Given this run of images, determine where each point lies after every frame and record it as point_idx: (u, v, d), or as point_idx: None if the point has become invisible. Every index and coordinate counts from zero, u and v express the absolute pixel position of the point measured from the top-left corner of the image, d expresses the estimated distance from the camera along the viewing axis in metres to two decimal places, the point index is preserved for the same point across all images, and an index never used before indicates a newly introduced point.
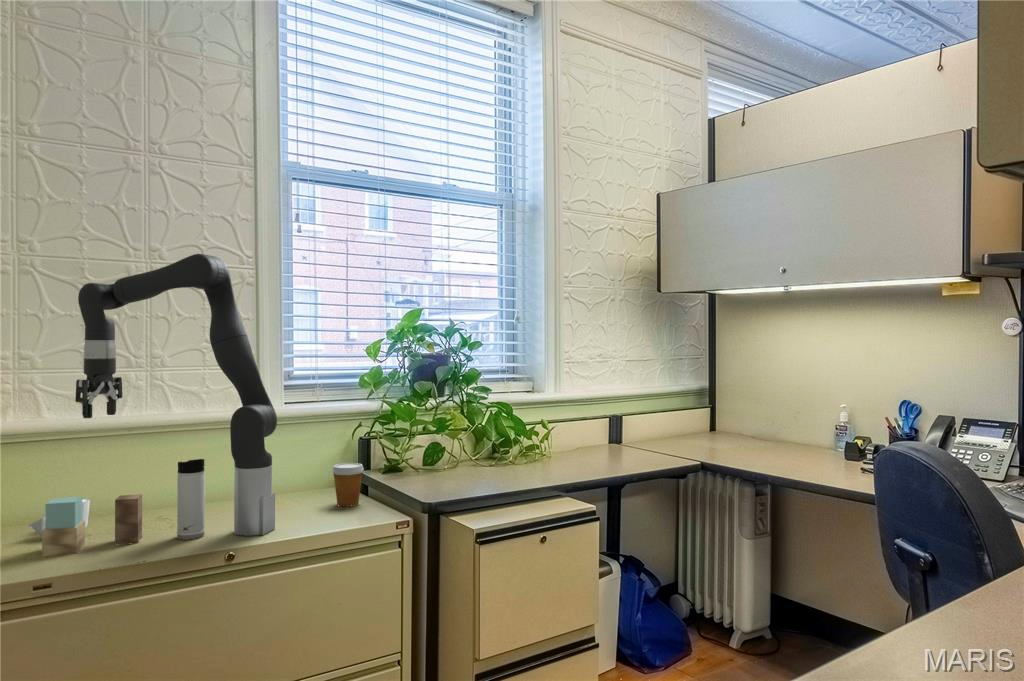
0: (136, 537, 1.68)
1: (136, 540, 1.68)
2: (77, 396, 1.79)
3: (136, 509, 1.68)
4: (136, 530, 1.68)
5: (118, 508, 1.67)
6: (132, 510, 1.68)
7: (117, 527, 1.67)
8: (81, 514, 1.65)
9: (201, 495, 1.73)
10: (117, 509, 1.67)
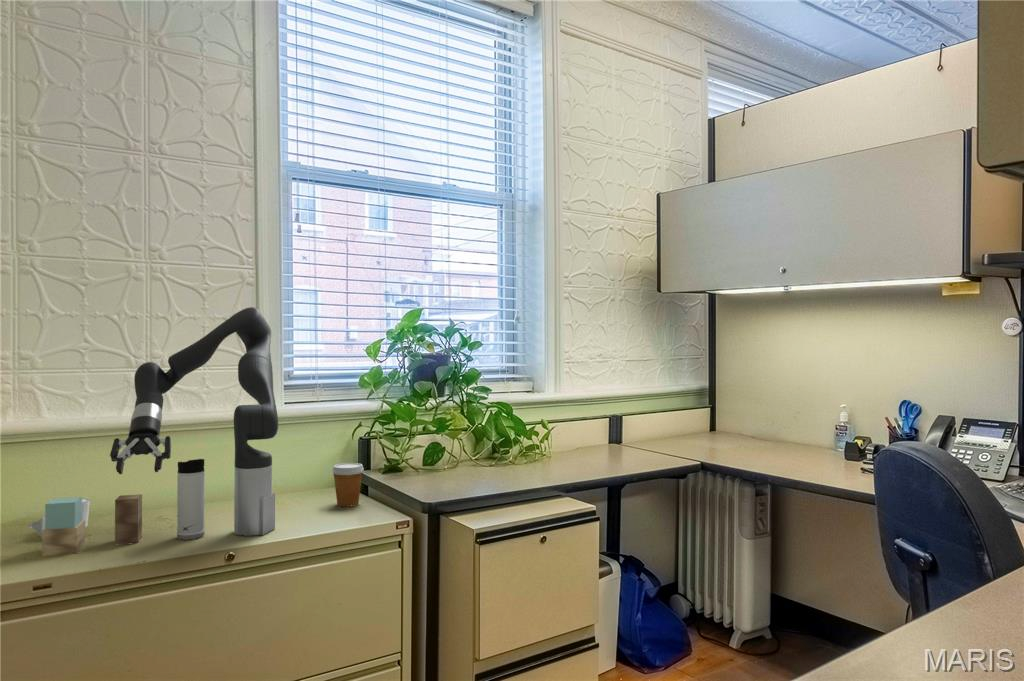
0: (136, 537, 1.68)
1: (136, 540, 1.68)
2: None
3: (136, 509, 1.68)
4: (136, 530, 1.68)
5: (118, 508, 1.67)
6: (132, 510, 1.68)
7: (117, 527, 1.67)
8: (81, 514, 1.65)
9: (201, 495, 1.73)
10: (117, 509, 1.67)
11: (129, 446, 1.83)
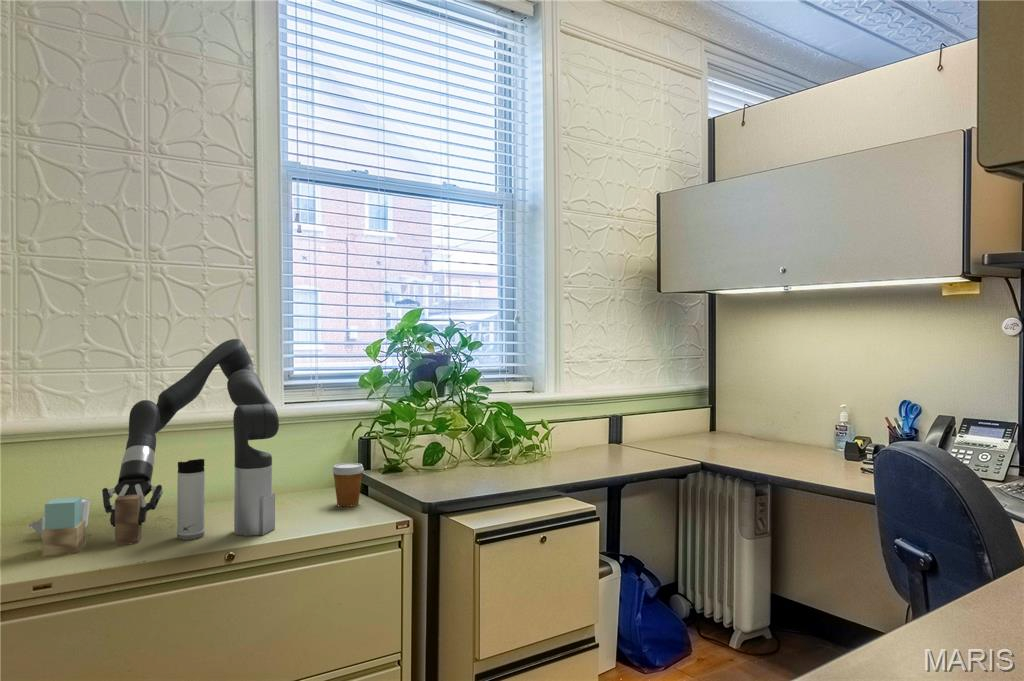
0: (136, 537, 1.68)
1: (136, 540, 1.68)
2: None
3: (136, 509, 1.68)
4: (136, 530, 1.68)
5: (118, 508, 1.67)
6: (132, 510, 1.68)
7: (117, 527, 1.67)
8: (80, 514, 1.65)
9: (201, 495, 1.73)
10: (117, 509, 1.67)
11: (121, 495, 1.71)
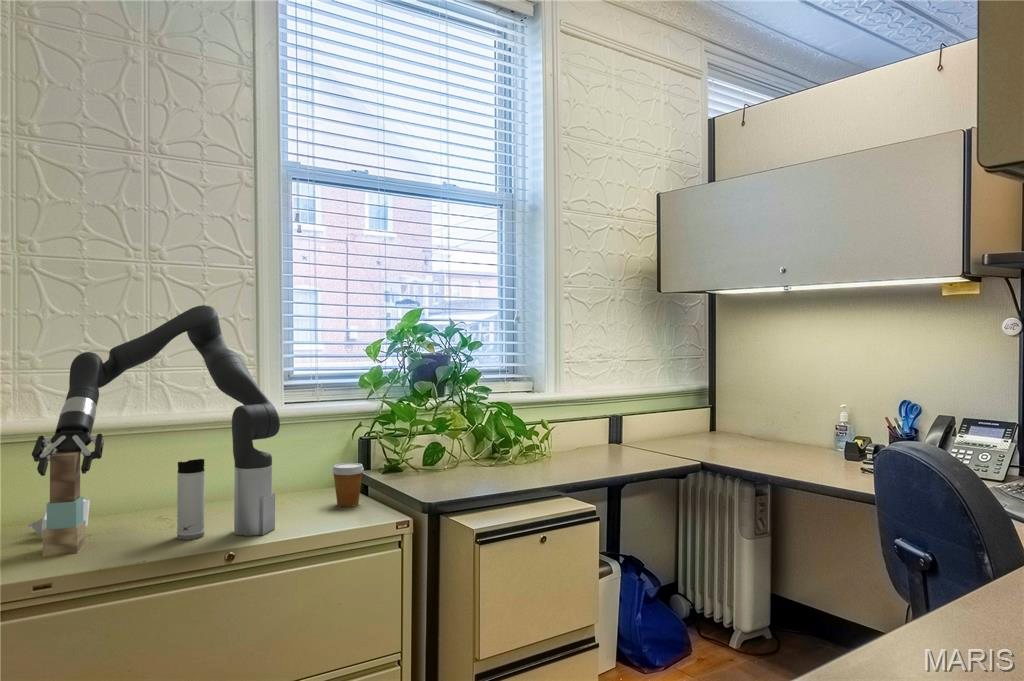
0: (72, 495, 1.61)
1: (72, 498, 1.61)
2: None
3: (73, 466, 1.61)
4: (72, 488, 1.61)
5: (54, 464, 1.59)
6: (68, 467, 1.60)
7: (52, 484, 1.59)
8: (82, 514, 1.65)
9: (201, 495, 1.73)
10: (52, 466, 1.59)
11: (54, 444, 1.64)
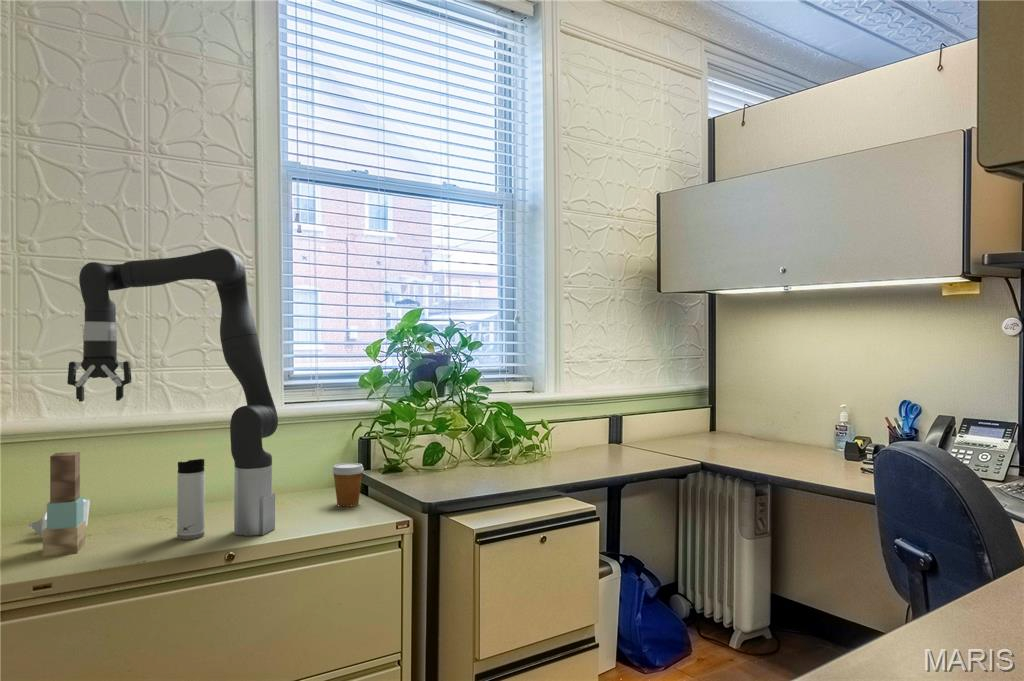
0: (73, 495, 1.61)
1: (73, 498, 1.61)
2: None
3: (73, 466, 1.61)
4: (73, 488, 1.61)
5: (54, 464, 1.59)
6: (69, 467, 1.60)
7: (52, 485, 1.59)
8: (82, 514, 1.65)
9: (201, 495, 1.73)
10: (52, 466, 1.59)
11: (86, 374, 1.76)
